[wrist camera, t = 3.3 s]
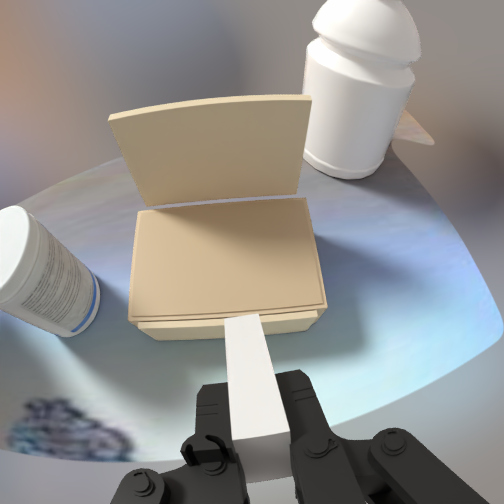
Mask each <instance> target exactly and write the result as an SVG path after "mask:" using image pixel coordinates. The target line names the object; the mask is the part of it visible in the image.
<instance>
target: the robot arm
mask: <svg viewBox="0 0 504 504" xmlns="http://www.w3.org/2000/svg"><path fill="white" fill-rule="evenodd" d="M224 325H225V344H226V361H227V377H228V382H225V383H217V384H208V385H203V386H202V388H201V389H200V391H199V393H198V394H197V403H196V407H197V408H196V425H195V434H194V435H192V436H191V437H189V438H188V439H187V440H186V441H185V442H184V443H183V444H182V447H181V450H180V452H181V454H182V456H183V457H184V459H185V461H186V463H187V464H185V465H184V466H182V467H180V468H178V469H175V470H172V471H168V472H165V473H161V474H158V473H157V472H155V471H153V470H150V469H142V468H140V469H136V470H133V471H131V472H129V473H128V474H127V475H126V476H125V477H124V478H123V479H122V481H121V483H120V485H119V487H118V489H117V491H116V493H115V495H114V497H113V499H112V501H111V503H110V504H250V499H249V496H248V493H247V487H246V483H253V482H261V481H268V480H274V479H280V478H285V477H290V476H293V477H294V481H295V494H296V499H298V503H299V504H366V502H367V503H368V504H489V503H488V502H487V501H486V500H485V499H484V498H482V497H481V496H480V495H479V494H478V493H477V492H475V491H474V490H473V489H472V488H471V487H470V486H469V485H467V484H466V483H465V482H464V481H463V480H462V479H461V478H459V477H458V476H457V475H456V474H455V473H454V472H453V471H451V470H450V469H449V468H448V467H447V466H446V465H445V464H444V463H442V462H441V461H440V460H439V459H438V458H437V457H436V456H435V455H434V454H433V453H431V452H430V451H429V450H428V449H427V448H426V447H425V446H424V445H423V444H422V443H420V442H419V441H418V440H417V439H416V438H415V437H414V436H413V435H412V434H411V433H409V432H407V431H406V430H404V429H400V428H388V429H385V430H382V431H380V432H379V433H378V434H376V435H375V436H374V437H373V439H370V440H347V439H343V438H341V437H339V436H337V435H336V434H334V433H333V432H332V431H331V429H330V427H329V425H328V423H327V420H326V418H325V415H324V413H323V411H322V408H321V406H320V403H319V401H318V398H317V397H316V393H315V391H314V389H313V386H312V384H311V381H310V379H309V377H308V376H307V375H306V374H305V373H303V372H302V371H301V370H300V369H299V370H294V371H288V372H283V373H278V374H274V370H273V366H272V363H271V359H270V355H269V351H268V348H267V344H266V340H265V336H264V333H263V329H262V325H261V321H260V318H259V314H258V313H257V314H251V315H245V316H238V317H231V318H224ZM365 501H366V502H365Z"/></svg>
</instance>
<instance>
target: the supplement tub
mask: <svg viewBox="0 0 504 504" xmlns="http://www.w3.org/2000/svg"><path fill="white" fill-rule="evenodd" d="M99 303H100V289H99V285H98V282H97V279H96V277H95V276H94V274H93V273H92V272H91V271H90V270H89V269H88V268H87V267H86V266H85V265H84V264H83V263H82V262H81V261H79V260H78V259H77V258H76V257H75V256H74V255H73V254H72V253H71V252H70V251H69V250H68V249H67V248H65V247H64V246H63V245H62V244H61V243H60V242H59V241H58V240H57V239H56V238H55V237H54V236H53V235H52V234H51V233H50V232H49V231H48V230H47V229H46V228H45V227H44V226H43V225H42V224H41V223H40V222H39V221H38V220H37V219H36V218H35V217H33V216H32V215H31V214H29V213H28V212H27V211H26V210H24V209H23V208H22V207H19V206H10V207H7V208H5V209H2V210H1V211H0V310H2V311H4V312H6V313H8V314H10V315H12V316H14V317H17V318H19V319H21V320H23V321H25V322H27V323H29V324H32V325H34V326H36V327H38V328H41V329H43V330H45V331H48V332H50V333H52V334H55V335H58V336H61V337H72V336H75V335H77V334H79V333H81V332H82V331H84V330H85V329H86V328H87V327H88V326H89V325H90V324H91V322H92V321H93V319H94V318H95V316H96V313H97V311H98V307H99Z"/></svg>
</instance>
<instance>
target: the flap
mask: <svg viewBox="0 0 504 504" xmlns="http://www.w3.org/2000/svg"><path fill="white" fill-rule="evenodd" d="M311 106H312V98H311V96H310V95H252V96H234V97H221V98H211V99H201V100H192V101H184V102H177V103H170V104H163V105H158V106H151V107H146V108H140V109H135V110H130V111H125V112H120V113H116V114H111V115H110V117H109V119H108V122H109V124H110V127H111V129H112V132H113V134H114V136H115V139H116V141H117V143H118V146H119V148H120V150H121V153H122V155H123V157H124V159H125V162H126V164H127V166H128V168H129V170H130V173H131V175H132V177H133V179H134V181H135V183H136V185H137V188H138V190H139V192H140V194H141V196H142V198H143V200H144V202H145V204H146V206H156V205H165V204H174V203H184V202H195V201H206V200H217V199H230V198H243V197H257V196H274V195H292V194H296V193H297V188H298V182H299V177H300V171H301V166H302V160H303V154H304V148H305V142H306V136H307V130H308V124H309V118H310V112H311Z"/></svg>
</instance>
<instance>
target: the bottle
mask: <svg viewBox="0 0 504 504" xmlns="http://www.w3.org/2000/svg"><path fill="white" fill-rule="evenodd" d="M312 25H313V28H314V30H315V31H316V32H317V33H318V35H319V37H318V38H316V39H315V40H313V41H312V42H311V43H310V44H309V45H308V46H307V50H306V64H305V74H304V82H303V91H302V95H310V96H311V98H312V106H311V112H310V118H309V124H308V130H307V136H306V142H305V148H304V154H303V158H304V159H305V160H306V161H307V162H308V163H309V164H311V165H312V166H313V167H314V168H315V169H317V170H319V171H321V172H323V173H325V174H327V175H329V176H333V177H338V178H342V179H361V178H364V177H366V176H369V175H371V174H373V173H374V172H375V171H376V169H377V168H378V167H379V166H380V165H381V163H382V162H383V160H384V155H385V153H386V151H387V149H388V146H389V144H390V142H391V140H392V137H393V135H394V133H395V130H396V128H397V125H398V123H399V120H400V118H401V115H402V113H403V111H404V108H405V106H406V103H407V101H408V98H409V96H410V93H411V90H412V89H413V87H414V84H415V75H414V72H413V71H412V69H411V66H410V63H412V62H415V61H417V60H418V59H420V58H421V56H422V55H421V44H420V38H419V34H418V31H417V27H416V25H415V23H414V20H413V18H412V16H411V14H410V13H409V11H408V10H407V8H406V7H405V6H404V4H403V3H402V2H401V1H400V0H328V1H327V2H326V3H325V4H324V5H323V6H322V7H321V8H320V10H319V11H318V13H317V14H316V16H315V18H314V20H313V21H312Z"/></svg>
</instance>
